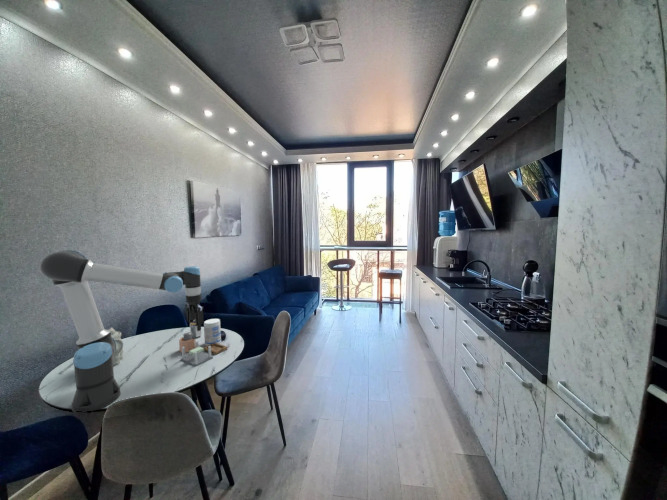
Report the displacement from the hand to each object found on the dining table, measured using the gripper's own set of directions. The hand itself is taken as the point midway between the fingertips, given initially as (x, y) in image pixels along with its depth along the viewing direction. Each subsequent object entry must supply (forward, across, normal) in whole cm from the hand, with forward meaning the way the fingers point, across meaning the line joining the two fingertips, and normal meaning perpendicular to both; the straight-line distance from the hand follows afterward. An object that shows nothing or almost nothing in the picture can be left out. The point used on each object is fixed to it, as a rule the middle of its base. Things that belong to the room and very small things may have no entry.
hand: (195, 335), depth 141 cm
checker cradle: (+14, 0, 0) cm, 14 cm away
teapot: (+14, +36, +27) cm, 47 cm away
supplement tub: (+14, +11, -17) cm, 25 cm away
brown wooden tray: (+14, +1, -12) cm, 18 cm away
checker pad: (+10, 0, 0) cm, 10 cm away
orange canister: (+14, +16, -4) cm, 22 cm away
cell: (+1, 0, 0) cm, 1 cm away
